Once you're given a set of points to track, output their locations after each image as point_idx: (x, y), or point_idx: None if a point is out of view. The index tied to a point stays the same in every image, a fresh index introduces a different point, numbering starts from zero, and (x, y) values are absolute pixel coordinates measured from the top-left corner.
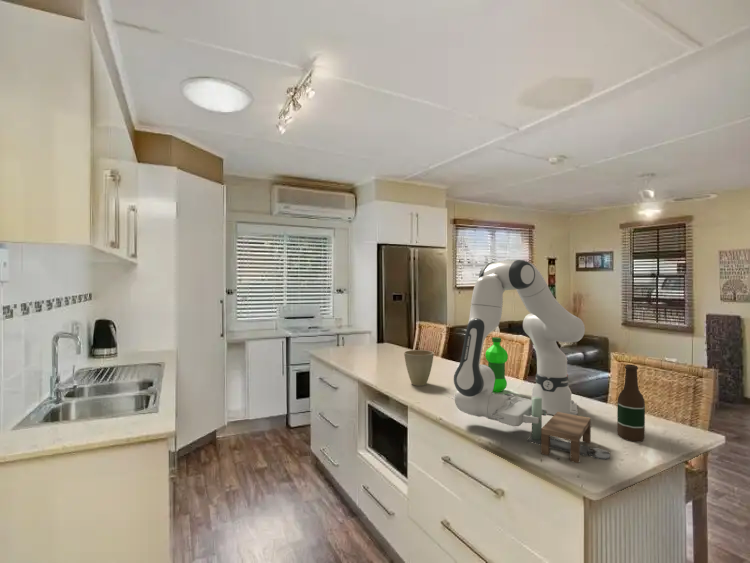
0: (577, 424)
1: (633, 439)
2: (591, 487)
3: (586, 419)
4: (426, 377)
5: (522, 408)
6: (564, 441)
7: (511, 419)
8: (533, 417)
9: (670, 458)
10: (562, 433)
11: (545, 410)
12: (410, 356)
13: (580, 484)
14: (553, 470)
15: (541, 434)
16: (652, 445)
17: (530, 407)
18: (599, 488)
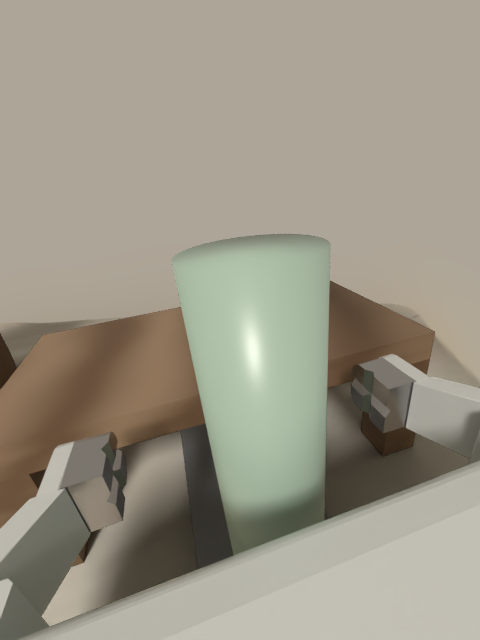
0: None
1: (15, 365)
2: (399, 309)
3: (80, 332)
4: None
5: (474, 559)
6: (188, 452)
7: None
8: (420, 372)
9: (109, 319)
10: (357, 295)
11: (104, 433)
12: None
13: (417, 317)
14: (451, 361)
15: (428, 362)
16: (31, 349)
17: (162, 585)
18: (383, 306)
